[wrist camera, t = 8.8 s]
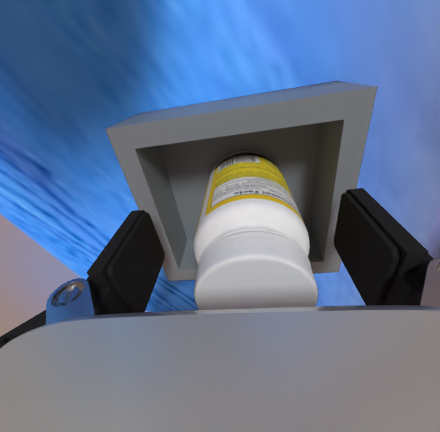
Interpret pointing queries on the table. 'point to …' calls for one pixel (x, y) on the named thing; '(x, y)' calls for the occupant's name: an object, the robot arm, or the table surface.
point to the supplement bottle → (251, 239)
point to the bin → (247, 141)
